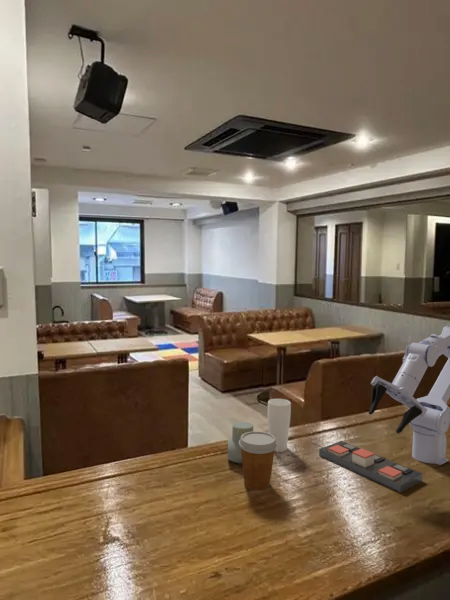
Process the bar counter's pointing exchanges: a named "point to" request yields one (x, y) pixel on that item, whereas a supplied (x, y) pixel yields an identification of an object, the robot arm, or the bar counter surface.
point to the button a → (338, 450)
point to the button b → (363, 458)
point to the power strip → (374, 468)
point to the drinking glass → (279, 422)
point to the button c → (390, 473)
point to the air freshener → (237, 440)
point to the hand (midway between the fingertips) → (384, 422)
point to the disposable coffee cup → (257, 458)
